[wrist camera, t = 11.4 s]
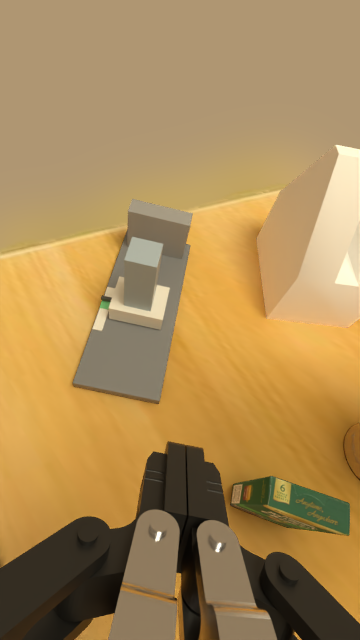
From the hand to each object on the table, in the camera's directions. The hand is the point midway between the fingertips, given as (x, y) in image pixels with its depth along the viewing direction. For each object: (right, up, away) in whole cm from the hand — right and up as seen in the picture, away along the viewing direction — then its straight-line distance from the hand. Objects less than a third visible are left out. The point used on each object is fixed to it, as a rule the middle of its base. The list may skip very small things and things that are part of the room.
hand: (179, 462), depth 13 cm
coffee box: (+10, -18, +27) cm, 34 cm away
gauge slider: (-7, +11, +38) cm, 41 cm away
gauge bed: (-7, +8, +39) cm, 40 cm away
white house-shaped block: (+23, +13, +48) cm, 55 cm away
